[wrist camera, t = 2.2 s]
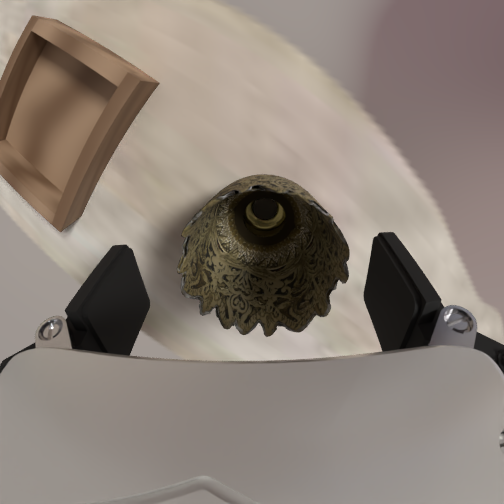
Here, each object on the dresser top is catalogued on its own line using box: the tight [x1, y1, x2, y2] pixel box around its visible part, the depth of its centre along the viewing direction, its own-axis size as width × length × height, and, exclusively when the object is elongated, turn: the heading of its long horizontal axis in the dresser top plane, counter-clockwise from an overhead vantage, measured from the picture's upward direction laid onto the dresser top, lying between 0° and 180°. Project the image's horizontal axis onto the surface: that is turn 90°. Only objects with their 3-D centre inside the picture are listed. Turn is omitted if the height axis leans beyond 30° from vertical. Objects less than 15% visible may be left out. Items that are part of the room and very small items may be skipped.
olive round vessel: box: [177, 175, 349, 337], centre depth 15 cm, size 8×7×8 cm
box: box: [0, 15, 159, 232], centre depth 14 cm, size 12×12×3 cm
